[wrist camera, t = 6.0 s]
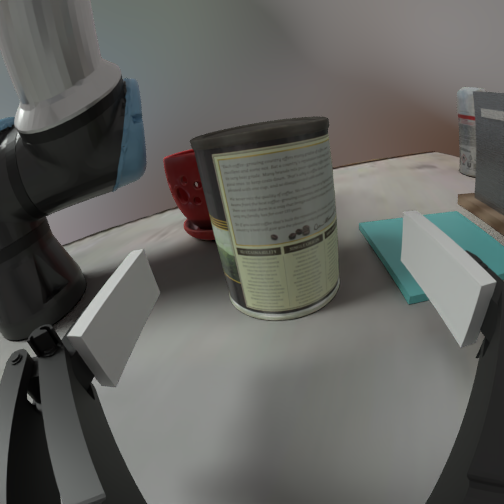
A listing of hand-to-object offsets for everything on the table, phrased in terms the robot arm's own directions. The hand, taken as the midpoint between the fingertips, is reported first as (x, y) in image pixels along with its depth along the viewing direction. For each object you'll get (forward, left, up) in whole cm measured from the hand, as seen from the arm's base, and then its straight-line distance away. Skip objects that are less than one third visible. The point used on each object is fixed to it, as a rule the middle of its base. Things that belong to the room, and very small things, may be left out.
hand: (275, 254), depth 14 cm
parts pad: (-2, +21, -8) cm, 23 cm away
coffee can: (-9, +5, -9) cm, 13 cm away
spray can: (-12, +60, -9) cm, 62 cm away
